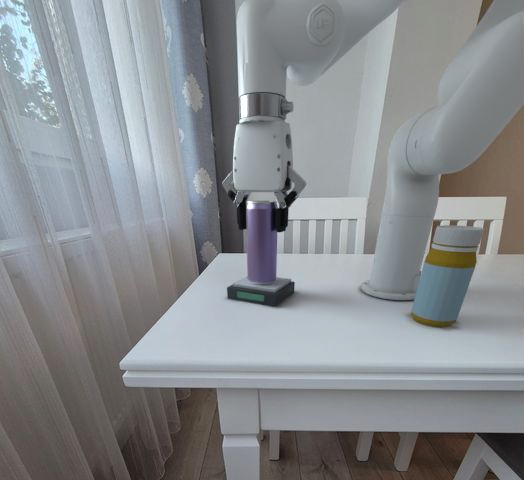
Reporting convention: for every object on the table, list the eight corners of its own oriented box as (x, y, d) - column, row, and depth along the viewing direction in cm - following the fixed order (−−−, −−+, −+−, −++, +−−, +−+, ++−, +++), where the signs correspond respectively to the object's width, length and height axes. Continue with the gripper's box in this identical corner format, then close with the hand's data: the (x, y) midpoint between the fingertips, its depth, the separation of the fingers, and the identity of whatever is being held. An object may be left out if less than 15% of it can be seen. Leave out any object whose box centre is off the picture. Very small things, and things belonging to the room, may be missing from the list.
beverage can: (274, 286, 58) (275, 201, 51) (244, 284, 59) (242, 201, 52) (277, 278, 63) (280, 200, 56) (250, 277, 64) (249, 200, 57)
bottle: (461, 330, 47) (497, 230, 40) (415, 326, 49) (442, 229, 41) (446, 314, 53) (475, 225, 46) (406, 311, 55) (428, 224, 47)
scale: (294, 292, 64) (295, 279, 63) (275, 307, 56) (275, 292, 55) (250, 286, 69) (249, 273, 67) (226, 298, 61) (226, 284, 59)
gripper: (320, 113, 47) (311, 230, 56) (228, 122, 54) (233, 226, 63) (305, 102, 42) (298, 235, 50) (204, 114, 48) (213, 229, 57)
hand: (262, 229), depth 56 cm, fingers open, 7 cm apart
